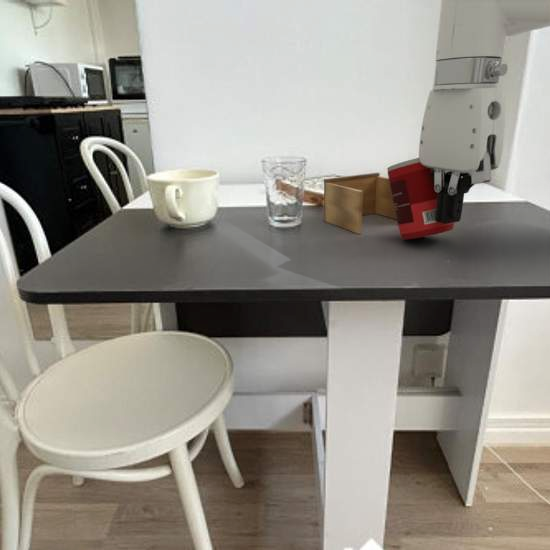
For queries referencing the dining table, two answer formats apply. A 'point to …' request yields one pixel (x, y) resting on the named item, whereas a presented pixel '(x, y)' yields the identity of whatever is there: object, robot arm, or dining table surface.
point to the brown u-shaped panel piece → (356, 199)
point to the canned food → (415, 200)
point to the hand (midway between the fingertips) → (447, 221)
